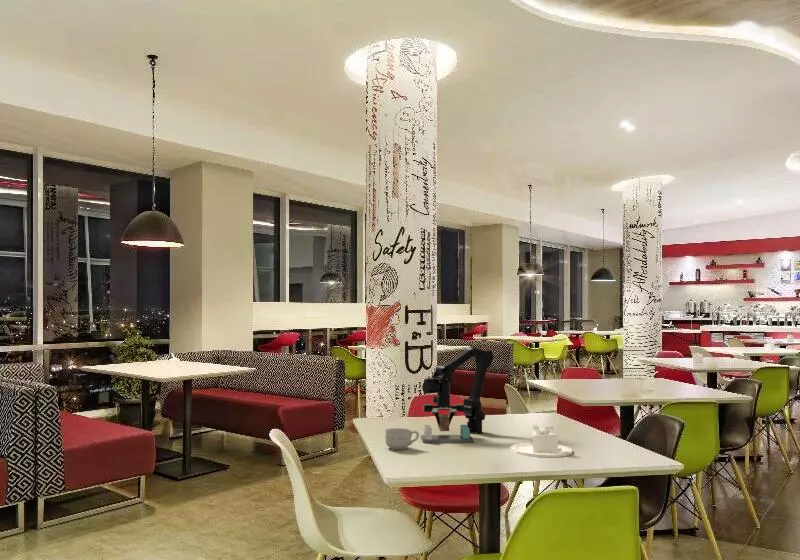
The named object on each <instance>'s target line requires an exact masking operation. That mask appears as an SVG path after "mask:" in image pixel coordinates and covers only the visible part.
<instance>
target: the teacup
mask: <svg viewBox="0 0 800 560" xmlns="http://www.w3.org/2000/svg"><path fill="white" fill-rule="evenodd" d="M413 434H416V437H415V438H414V439H412V437H413ZM419 437H420V433H419V432H418V431H417V430H411V429H410V428H401V427H400V428H398V427H396V428H394V427H393V428H386V429H385V444H386V447H389V449H390V450H399V451H400V450H406V449H407V448H408V447H409V446H411V445H412V444H413V443H414V442H416V441H417V440H418V439H419Z"/></svg>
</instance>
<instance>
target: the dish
mask: <svg viewBox="0 0 800 560" xmlns="http://www.w3.org/2000/svg"><path fill="white" fill-rule="evenodd" d="M553 431H555V429H554V427H553V426H547V427H545V428H540V427H539V426H538V425H536V424H534V425H532V442H521V443H515V444H512V445H511V446H510V447H509V449H510V451H511V452H512V453H515V454H517V455H520V456H521V455H522V456H526V457H532V458H533V457H534V458H546V457H550V458H562V457H561V456H564V457H568V456H570V455H569V454H571V455H573V453H572V452H573V449H572V448H571V447H570V446H566V445H562V444H559V434H556V433H551V432H553ZM567 455H568V456H567Z"/></svg>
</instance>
